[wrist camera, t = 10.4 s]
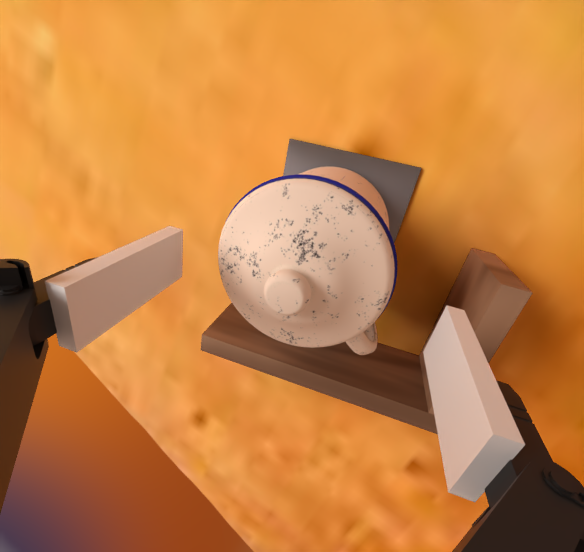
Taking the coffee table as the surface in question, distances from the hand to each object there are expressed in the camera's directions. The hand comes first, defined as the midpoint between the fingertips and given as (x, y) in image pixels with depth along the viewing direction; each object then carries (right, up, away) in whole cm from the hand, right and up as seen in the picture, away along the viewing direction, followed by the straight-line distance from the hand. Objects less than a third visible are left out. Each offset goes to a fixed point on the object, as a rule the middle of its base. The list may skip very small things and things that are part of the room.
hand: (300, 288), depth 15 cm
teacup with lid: (+3, +3, +8) cm, 10 cm away
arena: (+4, +2, +9) cm, 10 cm away
